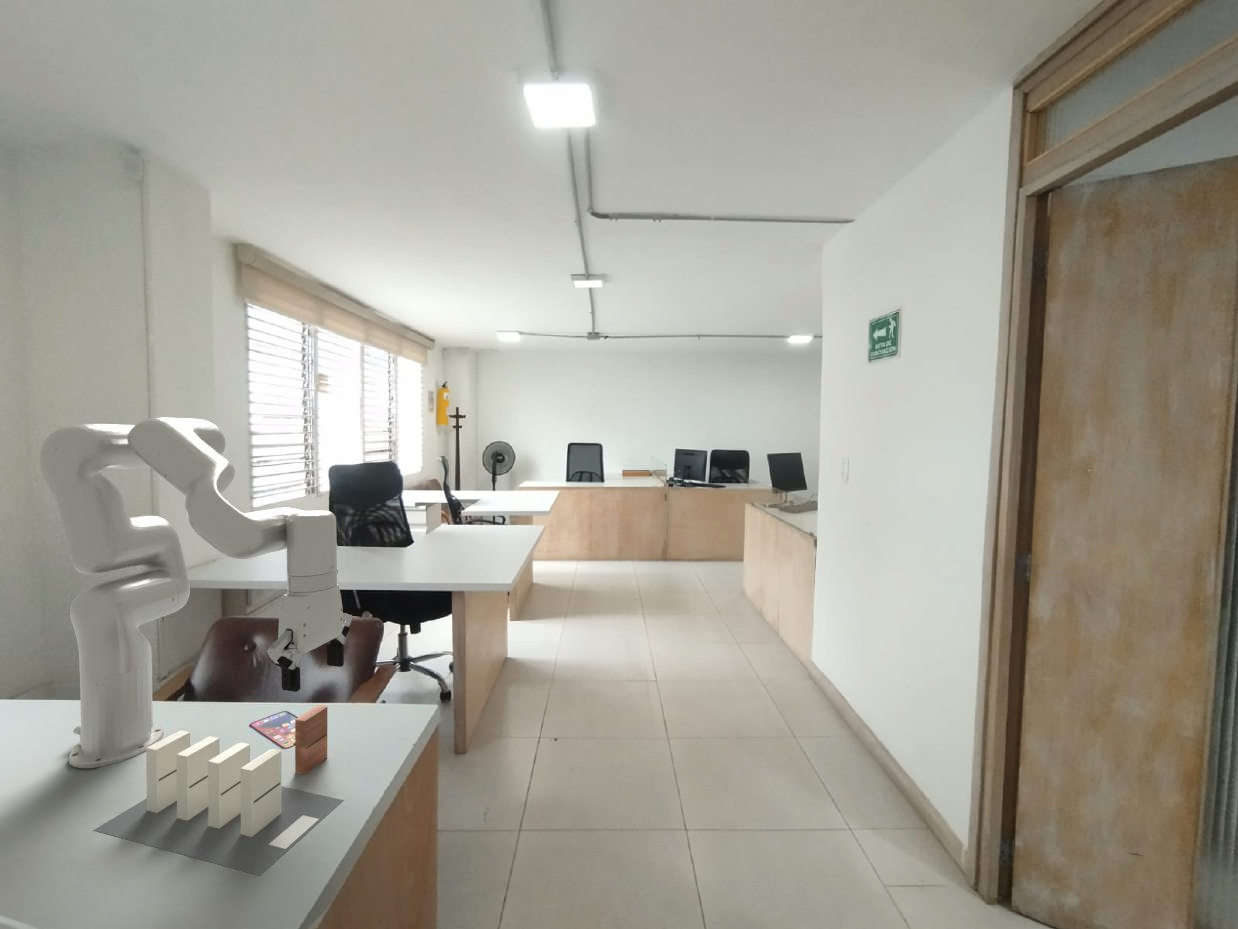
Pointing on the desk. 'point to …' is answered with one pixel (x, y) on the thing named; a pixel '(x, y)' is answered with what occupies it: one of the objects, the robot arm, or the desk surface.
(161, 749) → the domino
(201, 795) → the domino
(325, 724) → the domino
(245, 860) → the domino mat
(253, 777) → the domino
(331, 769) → the desk surface
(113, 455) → the robot arm
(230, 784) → the domino
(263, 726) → the smartphone
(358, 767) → the desk surface
